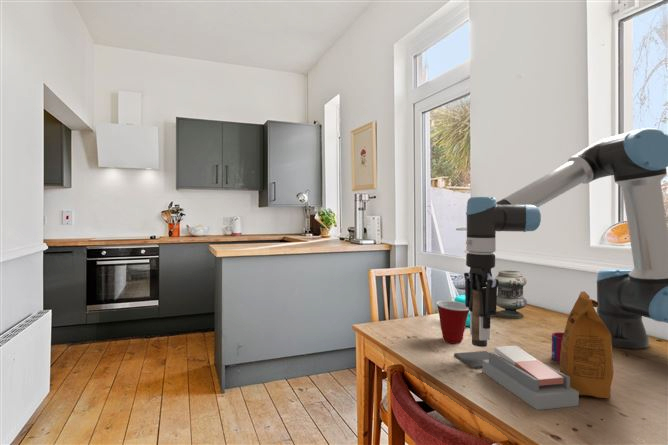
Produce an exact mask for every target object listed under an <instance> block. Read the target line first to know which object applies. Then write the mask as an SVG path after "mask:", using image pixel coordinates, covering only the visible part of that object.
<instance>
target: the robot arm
mask: <svg viewBox="0 0 668 445" xmlns="http://www.w3.org/2000/svg"><path fill="white" fill-rule="evenodd" d="M667 168H668V133H666V132H663V130H661V129H658V128H656V127H655V128H654V127H646V128H641V129H634V130H631V131H627V132H625V133H620V134H617V135H614V136H613V135H612V136H608V137H606V138H603V139H600V140H599V141H596V142H595V143H593V144H591V145H589V146H588V147H586V148H584V149H583V150H581V151H580V152H578V153H576V154H575V155H573V156H571V157H569V158H568V160H567V162H566V163H565V164H562V165H561V166H560V167H558V168H556V169H554V170H552V171H551V172H549V173H547V174H545V175H543V176H542V177H540V178H538V179H536V180H534V181H533V182H531V183H529V184H527V185H526V186H524V187H521V188H520V189H517V191H514V192H513V193H511V194H510V195H507V196H506V197H504V198H502V199H500V200H498V201H497V200H496V198H495V197H494V196H473V197H470V198H468V199H467V204H466V213H465V215H466V241H465V244H466V249H465V250H466V251H467V253H466V254H465V255H466V256H465V265H466V267H469V272H464V273H463V276H464V288H465V289H464V291H465V294H464V295H465V305H466V307H468V308H469V313H470V327H469V335H471V336H472V311H473V290H478V291H479V295H480V305H481V314H479V340H487V341H490V340H491V338H490V337H491V318H492V317H494V316H496V315H497V305H496V304H497V294H498V283H499V281H498V279H495V278H494V277H493V275H492V269H494V268H495V267H496V255H495V254H494V253H495V252H496V251H497V250H496V235H497V234H496V232H523V233H525V232H534V231H537V229H538V228H539V227H540V225H541V218H542V215H541V212H540V209H539V207H541V206H543V205H545V204H547V203H549V202H550V201H552V200H554V199H555V198H557V197H559V196H561V195H563V194H565V193H566V192H568V191H570V190H571V189H574V188H576V187H577V186H579V185H581V184H584V185H587V184H589V183H591V182H593V181H595V180H598V179H600V178H606V177H610V176H613V179H614V183H615V184H617V185H619V186H620V187H621V189H622V196H623V200H624V208H625V215H626V221H627V229H628V234H629V241H630V249H631V255H632V260H633V261H632V262H633V268H632V269H601V270H600V271H598V272H597V278H596V301H597V302H598V304H599V306H598V307H596V313H597V314H598V316H599V317H600V319H601V320H602V321H603V323H604V324H605V325H606V327H607V329H608V330H609V332H610V334H611V340H612V347H617V348H625V349H633V350H634V349H637V350H638V349H646V348H649V346H650V338H649V336H648V335H647V332H646V327H645V325H644V323H643V318H648V319H651V320H653V321H655V322H657V323H666V324H668V223H667V216H666V208H665V202H664V195H663V188H662V180H663V179H665V178H666V176H667V175H668V174H667Z"/></svg>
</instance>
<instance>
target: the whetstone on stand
mask: <svg viewBox="0 0 668 445" xmlns="http://www.w3.org/2000/svg"><path fill="white" fill-rule="evenodd" d="M488 353H489V360H483V368H482V373H484V374H485V375H487V377H488V376H489V378H491V379H493V380H494V381H495V382H497V383H498V384H500V385H501V386H503V387H504V388H505V389H506V390H508V391H509V392H511V393H513V394H514V395H515V396H517V398H518V399H520V400H522V401H524V402H525V403H527V404H528V405H529V406H530V407H532V408H534V410H537V411H541V410H551V409H552V410H553V409H558V408H559V409H560V408H570V407H577V406H579V403H580V399H579V398H580V397H579V396H580V395H579V391H577V390H575V389H573V388H571V387H570V377H569V376H567V375H565V374H563V373H561V372H560V370H557V369H555V368H554V367H551V366H550V365H548V364H545V363H544V362H541V361H540V362H541V363H543V364H544V365H546V366H547V367H549V368H550V369H552V370H553V371H555V372H556V373H558V374H559V375H561V376H562V377H564V381H563V384H553V385H543V386H539V380H538V379H536V378H535V377H533V376H531V375H529V374H528V373H526V372H524V371H523V370H521V369H519V368H518V367H516V366H514V365H513V364H511V363H509V362H508V361H506V360H504V359H503V358H501V357H500V356H499V355H497V354H496V353H495V352H492V351H488Z"/></svg>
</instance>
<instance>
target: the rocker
mask: <svg viewBox="0 0 668 445" xmlns="http://www.w3.org/2000/svg"><path fill="white" fill-rule="evenodd" d="M493 353H494V354H496V355H498V356H499V357H501V358H503V359H504V360H506V361H508V362H509V363H511V364H513V365H514V366H516V367H518V368H519V369H521V370H523V371H524V372H526V373H528V374H529V375H531V376H533V377H535V378H536V379H538V380H539V386H543V385H553V384H563V381H564V377H562V376H561V375H559V374H558V373H556V372H555V371H553V370H552V369H550V368H549V367H547V366H546V365H547V364H546V365H544V364H545V363H544V362H542V363H541V361H540V360H538V358H535V357H534V356H532V355H531V354H530V353H528V352H526V351H525V350H523V349H522V348H521V347H519V346H517V345H505V346H494V352H493ZM543 363H544V364H543Z"/></svg>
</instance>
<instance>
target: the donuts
mask: <svg viewBox="0 0 668 445" xmlns="http://www.w3.org/2000/svg"><path fill="white" fill-rule="evenodd" d="M453 301H454V302H460V303H463V304H465V294H461V295H457V296H455V297H454V300H453ZM465 327H469V328H470V312H469V313H468V316H467V320H466V325H465Z"/></svg>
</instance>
